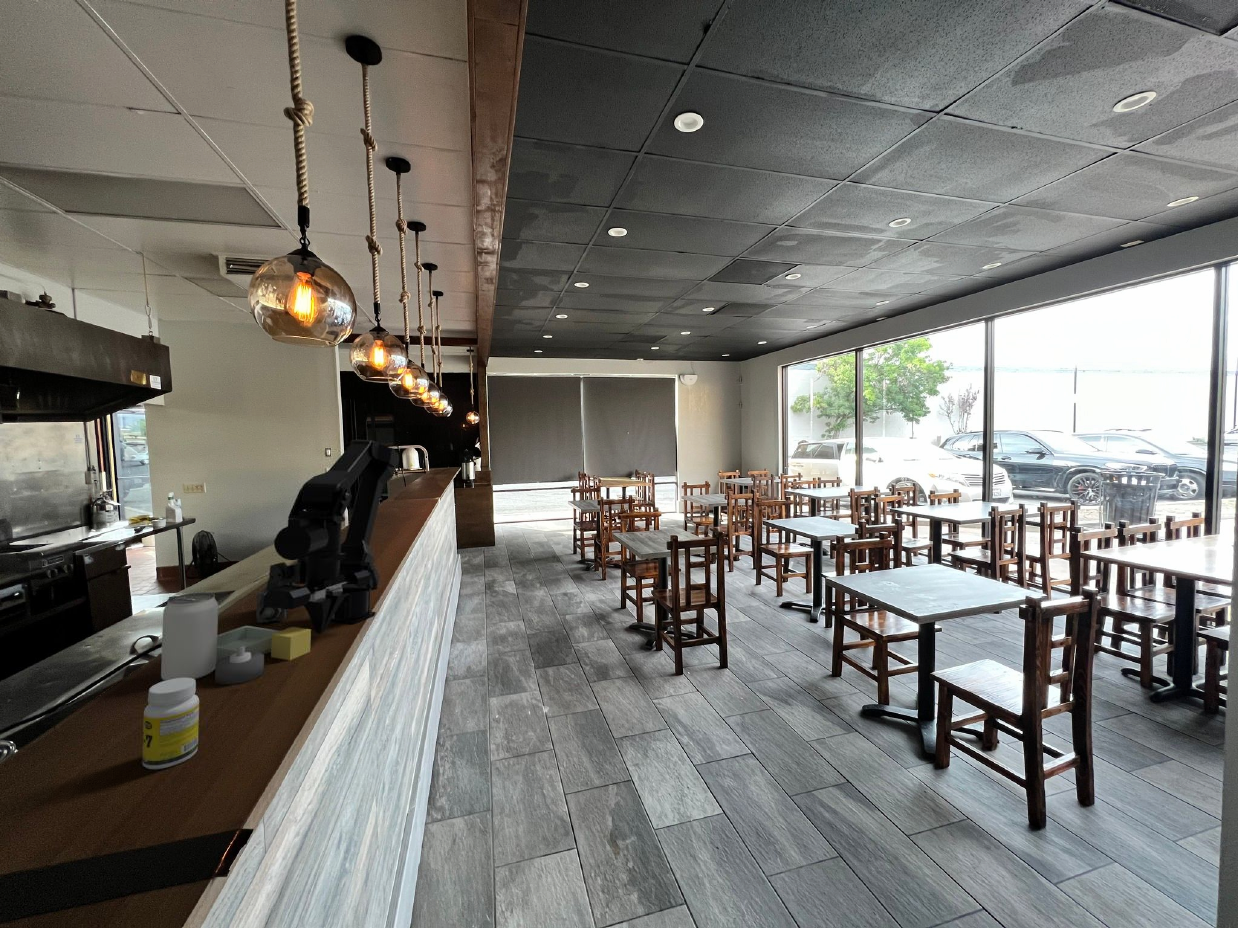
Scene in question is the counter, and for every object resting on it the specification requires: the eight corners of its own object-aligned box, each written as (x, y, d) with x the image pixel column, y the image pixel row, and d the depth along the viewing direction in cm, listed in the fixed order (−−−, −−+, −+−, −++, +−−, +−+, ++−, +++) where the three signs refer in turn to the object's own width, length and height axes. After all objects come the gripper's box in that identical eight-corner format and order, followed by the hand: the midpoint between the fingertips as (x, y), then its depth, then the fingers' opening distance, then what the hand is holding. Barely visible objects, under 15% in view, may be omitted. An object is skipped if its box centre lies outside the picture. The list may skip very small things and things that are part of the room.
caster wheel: (269, 612, 109) (246, 628, 95) (272, 568, 110) (249, 577, 96) (299, 610, 111) (280, 626, 97) (301, 567, 112) (283, 576, 98)
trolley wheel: (243, 665, 80) (244, 638, 80) (272, 670, 79) (273, 643, 79) (204, 680, 75) (205, 652, 75) (235, 686, 73) (236, 657, 73)
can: (183, 685, 73) (186, 605, 73) (149, 680, 74) (151, 600, 74) (226, 668, 79) (229, 593, 79) (194, 663, 81) (196, 589, 80)
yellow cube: (291, 648, 88) (292, 626, 88) (310, 651, 87) (310, 629, 87) (271, 657, 84) (271, 634, 84) (290, 660, 83) (290, 637, 83)
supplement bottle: (141, 755, 56) (143, 683, 56) (195, 740, 60) (198, 671, 60) (142, 776, 53) (144, 698, 53) (199, 759, 56) (201, 685, 56)
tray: (245, 639, 91) (246, 625, 91) (286, 645, 89) (286, 631, 89) (192, 658, 82) (192, 643, 82) (235, 665, 80) (236, 650, 80)
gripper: (327, 538, 102) (325, 612, 102) (239, 554, 84) (235, 645, 84) (373, 542, 100) (370, 619, 100) (292, 560, 81) (288, 653, 82)
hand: (320, 632), depth 91 cm, fingers closed
